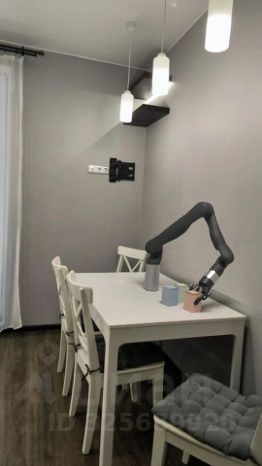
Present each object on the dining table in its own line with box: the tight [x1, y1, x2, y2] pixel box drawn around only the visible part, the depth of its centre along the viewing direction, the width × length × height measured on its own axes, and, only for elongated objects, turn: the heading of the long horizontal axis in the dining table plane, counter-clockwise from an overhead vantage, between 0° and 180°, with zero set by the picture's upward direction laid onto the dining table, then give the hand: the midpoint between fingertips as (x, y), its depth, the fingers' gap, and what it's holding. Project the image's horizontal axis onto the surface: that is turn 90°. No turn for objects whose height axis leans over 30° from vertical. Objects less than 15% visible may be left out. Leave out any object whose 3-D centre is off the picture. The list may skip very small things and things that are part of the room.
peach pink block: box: [183, 290, 203, 313], centre depth 172 cm, size 6×6×10 cm
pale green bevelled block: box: [173, 282, 190, 304], centre depth 188 cm, size 6×6×10 cm
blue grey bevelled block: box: [160, 284, 179, 307], centre depth 181 cm, size 6×6×10 cm
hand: (190, 302), depth 172 cm, fingers closed on peach pink block, 6 cm apart
